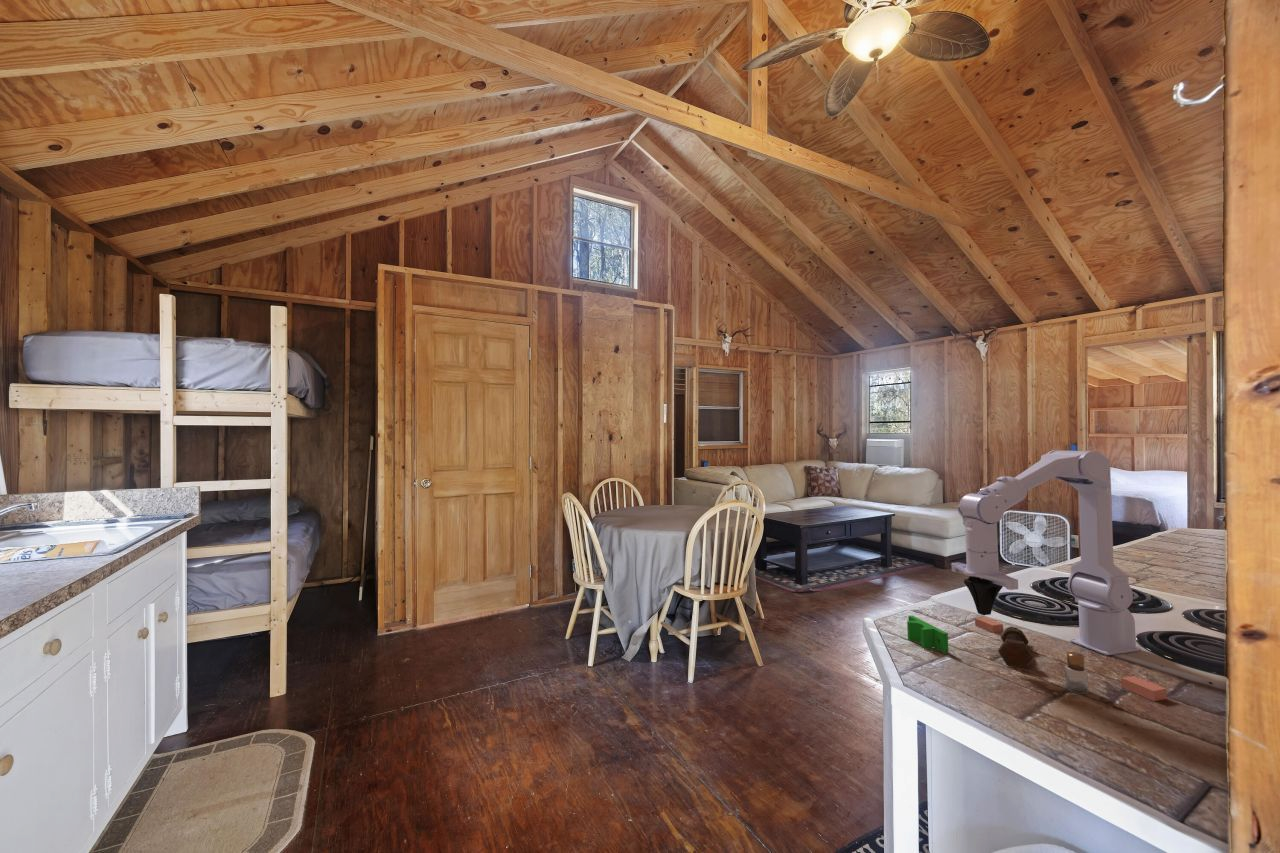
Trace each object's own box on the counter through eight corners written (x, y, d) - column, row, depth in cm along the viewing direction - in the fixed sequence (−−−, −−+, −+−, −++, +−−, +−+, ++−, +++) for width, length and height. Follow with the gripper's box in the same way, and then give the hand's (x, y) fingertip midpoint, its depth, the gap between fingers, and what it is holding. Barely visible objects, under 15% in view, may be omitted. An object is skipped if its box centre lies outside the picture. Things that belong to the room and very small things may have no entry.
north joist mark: (1134, 685, 95) (1133, 675, 95) (1166, 698, 90) (1166, 688, 90) (1121, 687, 94) (1121, 677, 94) (1153, 701, 89) (1153, 690, 89)
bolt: (1018, 650, 115) (1020, 674, 103) (995, 635, 118) (994, 657, 106) (1033, 630, 114) (1037, 652, 102) (1009, 615, 116) (1010, 635, 104)
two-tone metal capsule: (1074, 684, 96) (1073, 650, 96) (1093, 692, 93) (1091, 657, 93) (1061, 686, 95) (1059, 652, 95) (1079, 695, 92) (1077, 659, 92)
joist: (985, 624, 126) (984, 616, 126) (1003, 631, 121) (1003, 624, 121) (975, 625, 125) (974, 618, 125) (993, 633, 121) (992, 625, 121)
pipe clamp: (899, 636, 121) (898, 616, 121) (913, 634, 122) (912, 615, 122) (933, 655, 110) (932, 634, 110) (948, 653, 111) (947, 632, 111)
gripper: (939, 544, 114) (941, 604, 114) (996, 559, 100) (999, 628, 100) (965, 542, 116) (967, 601, 115) (1025, 556, 102) (1028, 624, 101)
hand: (984, 613), depth 108 cm, fingers closed
